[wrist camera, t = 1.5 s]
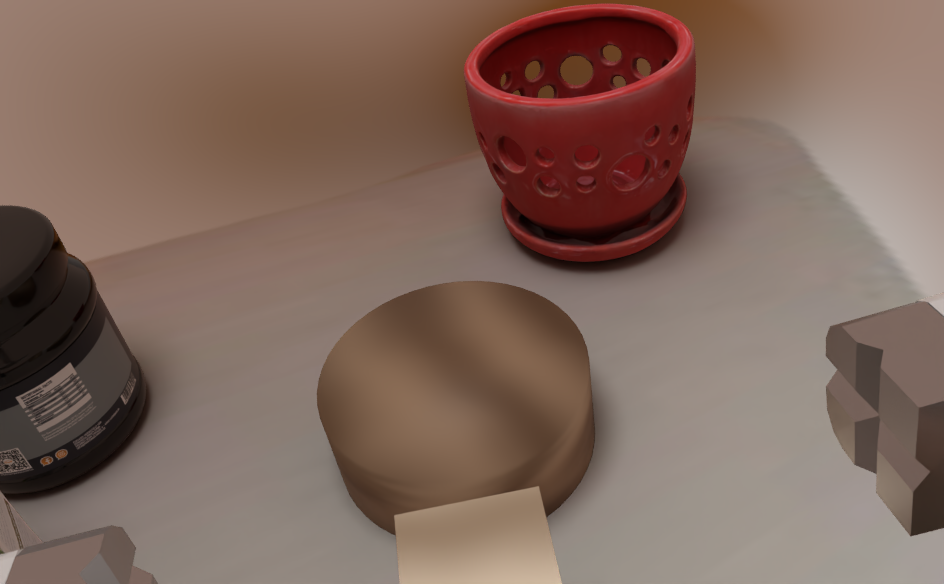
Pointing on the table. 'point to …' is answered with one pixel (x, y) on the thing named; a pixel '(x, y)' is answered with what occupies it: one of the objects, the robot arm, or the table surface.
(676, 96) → the plant pot
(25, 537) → the syrup box
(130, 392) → the supplement container
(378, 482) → the walnut plinth
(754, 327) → the table surface
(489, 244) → the table surface
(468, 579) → the ash block
